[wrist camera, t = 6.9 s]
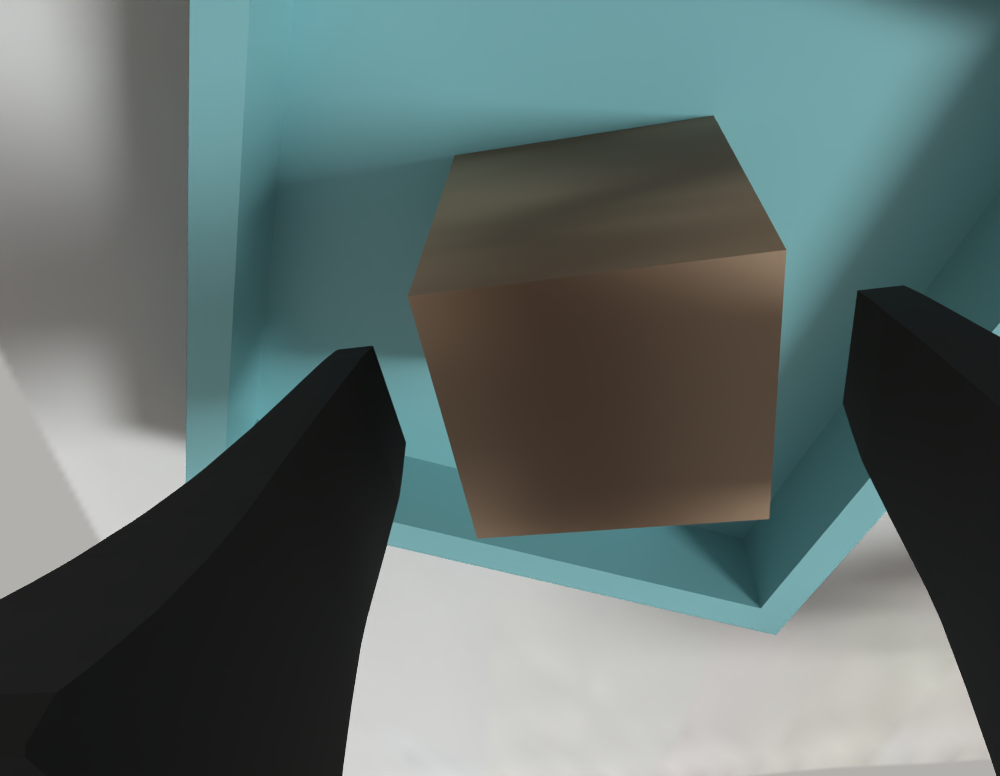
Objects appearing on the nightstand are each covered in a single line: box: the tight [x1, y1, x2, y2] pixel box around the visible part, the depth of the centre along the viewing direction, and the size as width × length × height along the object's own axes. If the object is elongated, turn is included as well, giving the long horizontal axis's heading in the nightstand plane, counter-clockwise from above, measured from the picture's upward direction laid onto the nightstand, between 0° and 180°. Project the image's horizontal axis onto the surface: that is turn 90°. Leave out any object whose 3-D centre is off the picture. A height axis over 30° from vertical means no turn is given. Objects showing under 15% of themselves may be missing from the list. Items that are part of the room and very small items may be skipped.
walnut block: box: [408, 116, 786, 539], centre depth 12 cm, size 4×4×5 cm
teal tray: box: [186, 0, 1000, 635], centre depth 13 cm, size 14×14×2 cm
